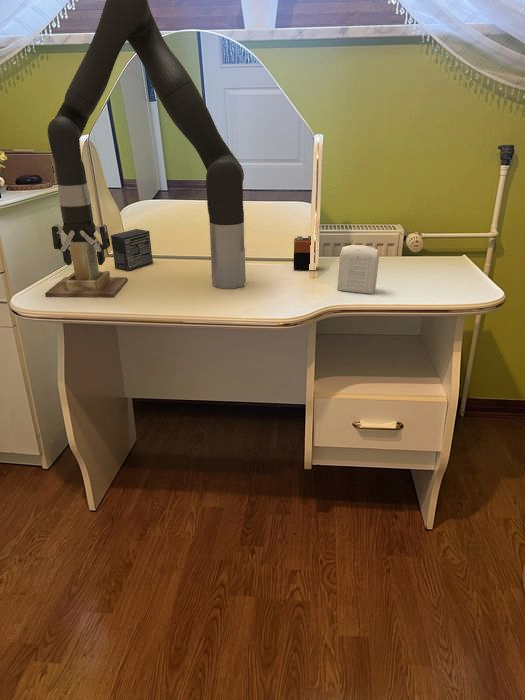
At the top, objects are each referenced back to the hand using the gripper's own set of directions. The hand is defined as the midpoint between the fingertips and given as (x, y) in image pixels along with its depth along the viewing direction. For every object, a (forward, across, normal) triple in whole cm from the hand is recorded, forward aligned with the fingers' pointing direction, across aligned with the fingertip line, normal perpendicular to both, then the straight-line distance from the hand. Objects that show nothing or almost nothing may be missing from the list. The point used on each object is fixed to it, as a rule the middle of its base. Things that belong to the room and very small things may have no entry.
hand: (85, 264), depth 138 cm
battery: (+7, -60, -20) cm, 64 cm away
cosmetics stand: (+7, 0, 0) cm, 7 cm away
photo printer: (+7, -73, 0) cm, 73 cm away
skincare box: (+6, 0, 0) cm, 6 cm away
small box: (+7, -7, -22) cm, 24 cm away
